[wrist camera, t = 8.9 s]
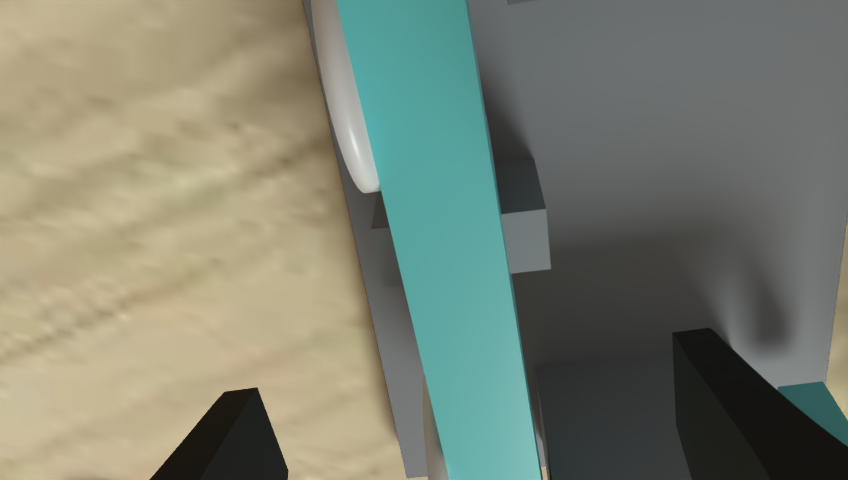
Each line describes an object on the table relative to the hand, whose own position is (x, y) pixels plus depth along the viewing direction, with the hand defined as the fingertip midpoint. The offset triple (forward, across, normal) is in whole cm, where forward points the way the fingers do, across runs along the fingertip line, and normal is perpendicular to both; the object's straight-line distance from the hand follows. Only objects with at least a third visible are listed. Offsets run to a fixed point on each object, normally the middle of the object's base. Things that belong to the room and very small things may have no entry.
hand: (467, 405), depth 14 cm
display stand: (+9, -3, 0) cm, 10 cm away
